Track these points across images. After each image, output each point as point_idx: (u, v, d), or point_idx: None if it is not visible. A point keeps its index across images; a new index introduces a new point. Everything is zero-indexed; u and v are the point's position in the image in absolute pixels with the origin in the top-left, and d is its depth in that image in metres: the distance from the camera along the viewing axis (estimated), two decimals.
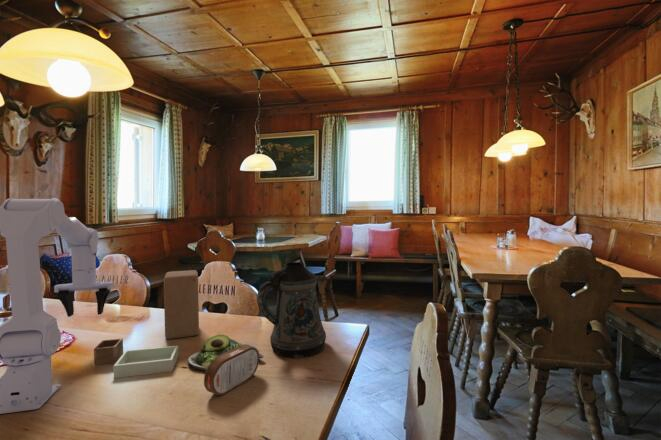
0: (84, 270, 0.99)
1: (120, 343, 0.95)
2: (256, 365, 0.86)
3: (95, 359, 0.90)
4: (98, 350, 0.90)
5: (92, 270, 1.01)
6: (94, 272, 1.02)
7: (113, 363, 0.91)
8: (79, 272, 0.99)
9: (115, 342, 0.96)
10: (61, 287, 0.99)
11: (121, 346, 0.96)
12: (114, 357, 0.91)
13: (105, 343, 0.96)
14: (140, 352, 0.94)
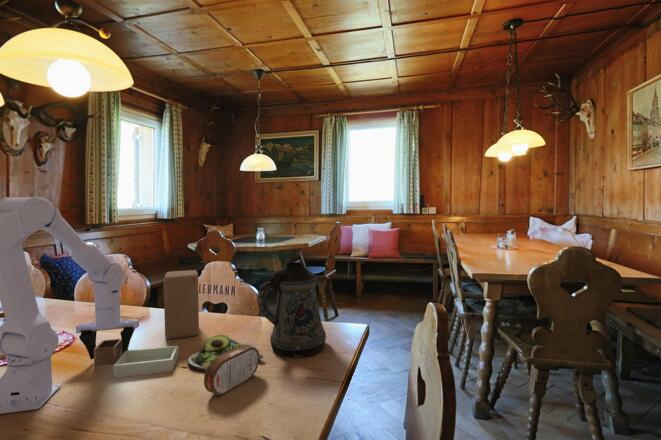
0: (108, 309, 0.91)
1: (120, 343, 0.95)
2: (256, 365, 0.86)
3: (95, 359, 0.90)
4: (98, 350, 0.90)
5: (117, 308, 0.93)
6: (118, 310, 0.94)
7: (113, 363, 0.91)
8: (103, 311, 0.90)
9: (115, 342, 0.96)
10: (83, 327, 0.91)
11: (121, 346, 0.96)
12: (114, 357, 0.91)
13: (105, 343, 0.96)
14: (140, 352, 0.94)
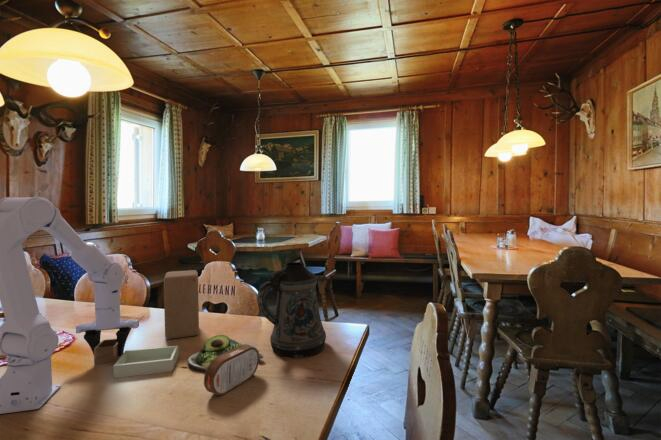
0: (108, 309, 0.91)
1: None
2: (256, 365, 0.86)
3: (95, 358, 0.90)
4: (98, 349, 0.90)
5: (117, 308, 0.93)
6: (118, 310, 0.94)
7: (113, 363, 0.91)
8: (103, 311, 0.90)
9: (115, 342, 0.96)
10: (83, 327, 0.91)
11: None
12: (114, 357, 0.91)
13: (105, 342, 0.96)
14: (140, 352, 0.94)
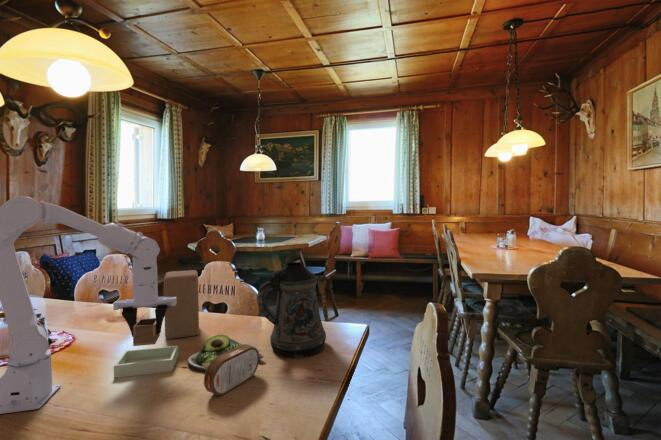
0: (147, 285, 0.88)
1: None
2: (256, 365, 0.86)
3: (134, 337, 0.87)
4: (137, 328, 0.87)
5: (155, 284, 0.89)
6: (156, 286, 0.90)
7: (152, 342, 0.89)
8: (142, 287, 0.87)
9: (152, 321, 0.93)
10: (121, 304, 0.88)
11: None
12: (153, 335, 0.89)
13: (142, 322, 0.93)
14: (140, 352, 0.94)
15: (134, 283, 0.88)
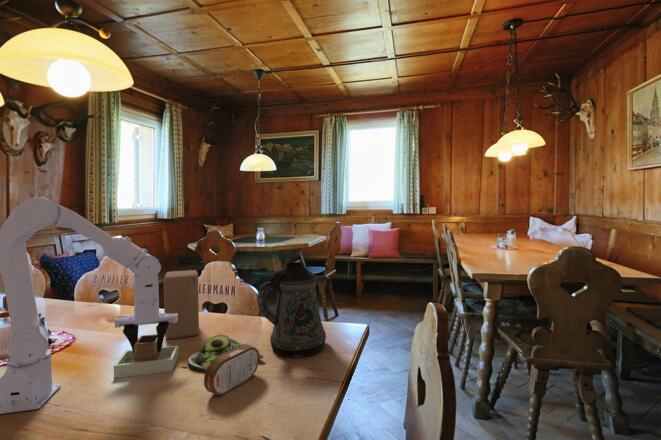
0: (148, 302, 0.88)
1: None
2: (256, 365, 0.86)
3: (135, 355, 0.87)
4: (139, 345, 0.88)
5: (156, 302, 0.90)
6: (158, 304, 0.90)
7: (153, 359, 0.89)
8: (143, 305, 0.87)
9: (154, 338, 0.93)
10: (122, 322, 0.88)
11: None
12: (154, 353, 0.89)
13: (143, 338, 0.93)
14: None
15: (135, 301, 0.88)
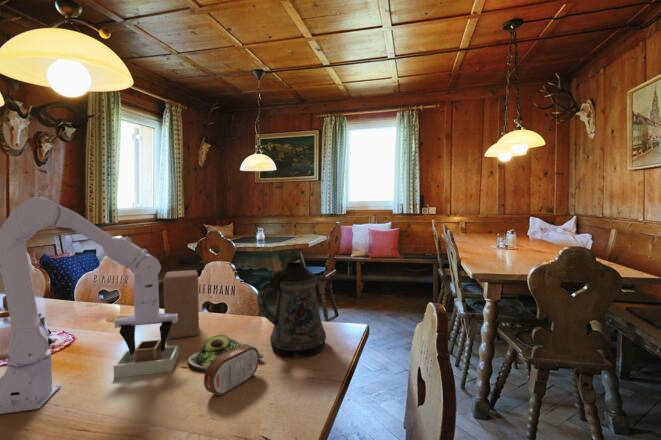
0: (148, 302, 0.88)
1: (159, 344, 0.92)
2: (256, 365, 0.86)
3: (135, 361, 0.88)
4: (138, 352, 0.88)
5: (156, 302, 0.90)
6: (158, 304, 0.90)
7: None
8: (143, 305, 0.87)
9: (154, 343, 0.94)
10: (122, 322, 0.88)
11: (160, 348, 0.93)
12: (154, 359, 0.89)
13: (144, 344, 0.93)
14: None
15: (135, 301, 0.88)
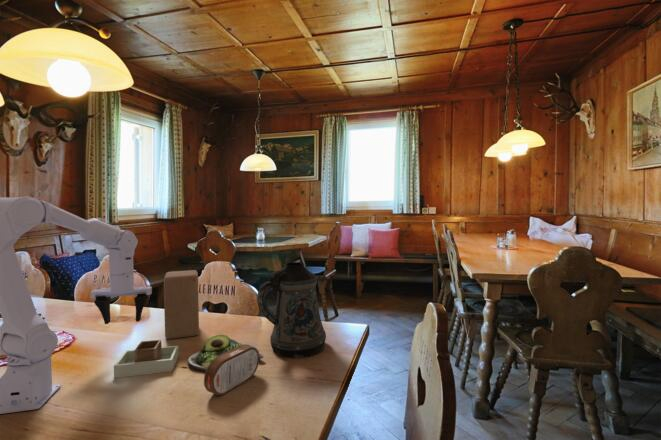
0: (123, 275, 0.93)
1: (159, 344, 0.92)
2: (256, 365, 0.86)
3: (135, 361, 0.88)
4: (138, 352, 0.88)
5: (130, 274, 0.95)
6: (132, 277, 0.96)
7: None
8: (117, 277, 0.93)
9: (154, 343, 0.94)
10: (98, 293, 0.93)
11: (160, 348, 0.93)
12: (154, 359, 0.89)
13: (144, 344, 0.93)
14: None
15: (114, 273, 0.93)
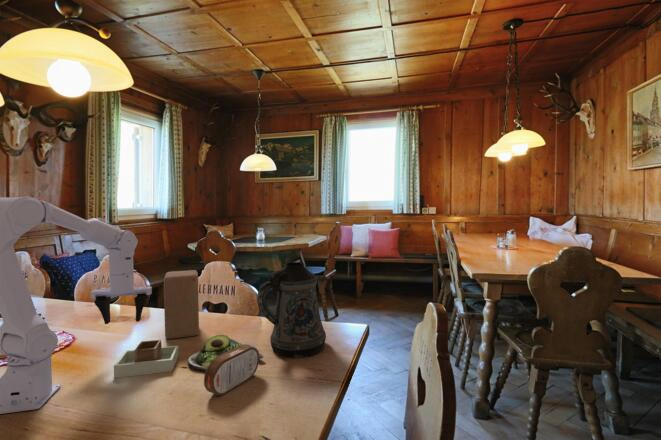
0: (123, 275, 0.93)
1: (159, 344, 0.92)
2: (256, 365, 0.86)
3: (135, 361, 0.88)
4: (138, 352, 0.88)
5: (130, 274, 0.95)
6: (132, 277, 0.96)
7: None
8: (117, 277, 0.93)
9: (154, 343, 0.94)
10: (98, 293, 0.93)
11: (160, 348, 0.93)
12: (154, 359, 0.89)
13: (144, 344, 0.93)
14: None
15: (114, 273, 0.93)
